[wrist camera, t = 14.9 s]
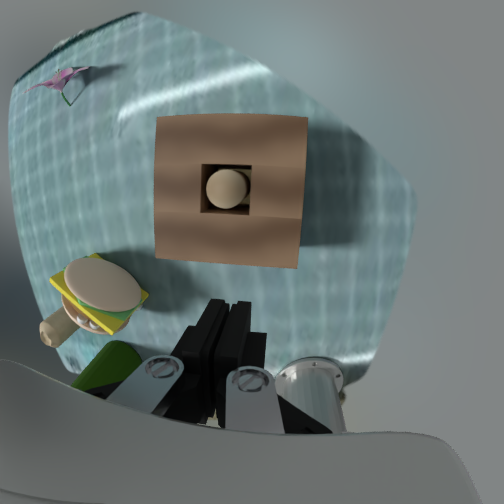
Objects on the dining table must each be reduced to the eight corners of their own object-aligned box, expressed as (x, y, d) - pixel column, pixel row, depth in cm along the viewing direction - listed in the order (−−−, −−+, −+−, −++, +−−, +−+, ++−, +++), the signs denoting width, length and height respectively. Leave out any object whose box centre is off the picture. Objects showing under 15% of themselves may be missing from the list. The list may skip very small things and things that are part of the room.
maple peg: (249, 202, 34) (243, 209, 27) (218, 200, 34) (205, 207, 28) (251, 171, 33) (246, 170, 26) (220, 169, 33) (207, 168, 27)
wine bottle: (97, 344, 46) (7, 453, 15) (125, 335, 45) (26, 465, 14) (122, 377, 48) (50, 491, 17) (151, 371, 47) (78, 505, 16)
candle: (70, 297, 44) (39, 320, 34) (87, 319, 45) (59, 345, 35) (61, 310, 45) (32, 332, 36) (77, 330, 46) (50, 355, 36)
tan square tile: (251, 203, 35) (251, 204, 34) (218, 201, 35) (217, 202, 34) (253, 169, 34) (252, 169, 33) (219, 168, 34) (218, 168, 33)
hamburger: (86, 278, 42) (44, 307, 31) (99, 242, 40) (53, 265, 28) (136, 318, 43) (103, 357, 32) (154, 284, 41) (118, 320, 30)
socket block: (291, 246, 38) (297, 268, 29) (180, 239, 39) (155, 257, 30) (299, 131, 33) (307, 117, 24) (182, 128, 34) (156, 117, 25)
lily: (112, 83, 33) (88, 44, 24) (61, 134, 32) (28, 101, 22) (87, 72, 36) (65, 41, 26) (44, 116, 34) (17, 88, 25)
